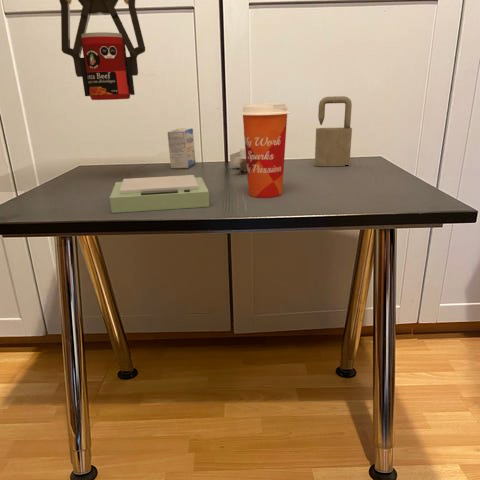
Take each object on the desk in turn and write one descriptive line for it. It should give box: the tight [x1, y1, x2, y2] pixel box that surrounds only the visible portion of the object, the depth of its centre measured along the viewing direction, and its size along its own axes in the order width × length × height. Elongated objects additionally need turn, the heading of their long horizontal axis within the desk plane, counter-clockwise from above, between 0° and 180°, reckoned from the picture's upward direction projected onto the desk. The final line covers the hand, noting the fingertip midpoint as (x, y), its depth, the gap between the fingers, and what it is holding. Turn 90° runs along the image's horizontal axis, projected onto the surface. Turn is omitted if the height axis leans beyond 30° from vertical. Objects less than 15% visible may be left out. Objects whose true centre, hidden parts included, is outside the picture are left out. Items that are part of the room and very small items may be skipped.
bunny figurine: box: [229, 147, 247, 173], centre depth 111 cm, size 10×5×15 cm
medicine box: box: [167, 127, 196, 170], centre depth 119 cm, size 8×4×9 cm, turn 171°
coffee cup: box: [240, 103, 291, 199], centre depth 84 cm, size 8×8×15 cm
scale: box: [109, 174, 210, 214], centre depth 85 cm, size 16×14×3 cm
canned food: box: [81, 31, 131, 101], centre depth 92 cm, size 8×8×11 cm
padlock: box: [314, 95, 353, 167], centre depth 112 cm, size 4×8×15 cm, turn 82°
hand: (110, 95), depth 94 cm, fingers closed on canned food, 8 cm apart
